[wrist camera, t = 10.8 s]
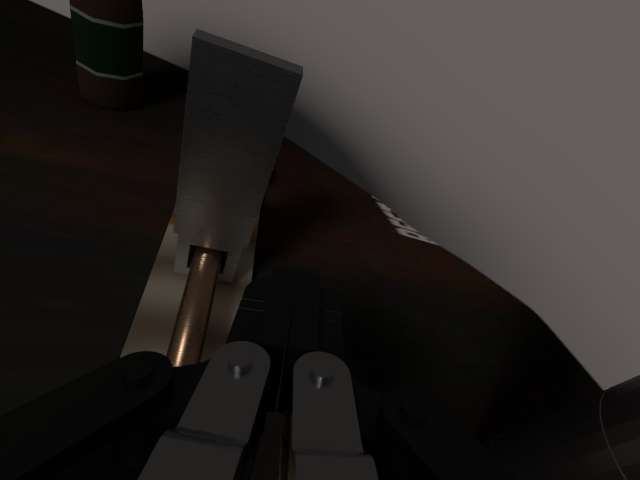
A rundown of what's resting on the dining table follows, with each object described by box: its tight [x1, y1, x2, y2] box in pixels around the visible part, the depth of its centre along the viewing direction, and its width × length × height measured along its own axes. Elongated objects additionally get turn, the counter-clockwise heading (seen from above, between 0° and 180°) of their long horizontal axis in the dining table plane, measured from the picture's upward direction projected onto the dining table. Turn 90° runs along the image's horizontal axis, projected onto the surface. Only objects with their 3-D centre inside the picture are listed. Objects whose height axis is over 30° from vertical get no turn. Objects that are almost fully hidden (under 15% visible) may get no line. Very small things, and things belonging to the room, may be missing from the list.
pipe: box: [166, 246, 223, 367], centre depth 32 cm, size 32×3×3 cm, turn 2°
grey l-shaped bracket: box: [173, 29, 303, 282], centre depth 28 cm, size 6×6×20 cm
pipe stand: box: [120, 206, 260, 362], centre depth 33 cm, size 37×9×5 cm, turn 2°
